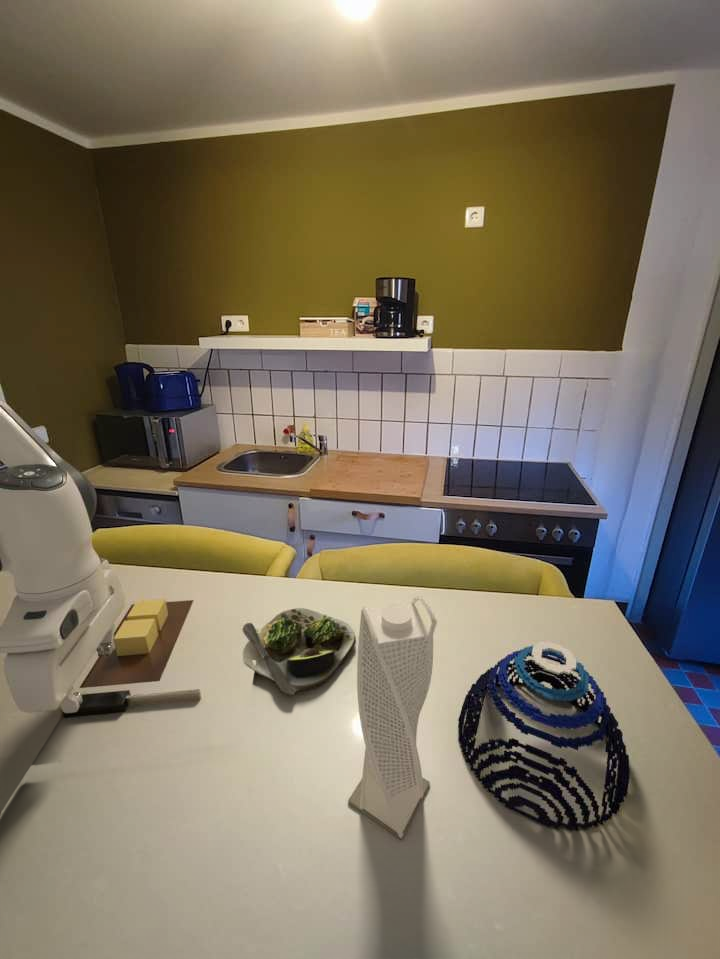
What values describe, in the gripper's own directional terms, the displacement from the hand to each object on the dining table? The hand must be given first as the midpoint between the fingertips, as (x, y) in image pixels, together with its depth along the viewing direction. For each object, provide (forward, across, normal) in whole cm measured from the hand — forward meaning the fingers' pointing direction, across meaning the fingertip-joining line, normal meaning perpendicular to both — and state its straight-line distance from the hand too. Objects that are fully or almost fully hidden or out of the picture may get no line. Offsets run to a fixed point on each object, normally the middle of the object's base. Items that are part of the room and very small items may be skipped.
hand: (91, 678), depth 58 cm
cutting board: (+7, -14, -1) cm, 16 cm away
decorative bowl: (+8, +11, +59) cm, 60 cm away
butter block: (+5, -12, +1) cm, 13 cm away
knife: (+7, 0, +5) cm, 8 cm away
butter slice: (+5, -18, +1) cm, 19 cm away
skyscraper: (+7, +16, +39) cm, 42 cm away
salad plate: (+7, -9, +28) cm, 30 cm away
